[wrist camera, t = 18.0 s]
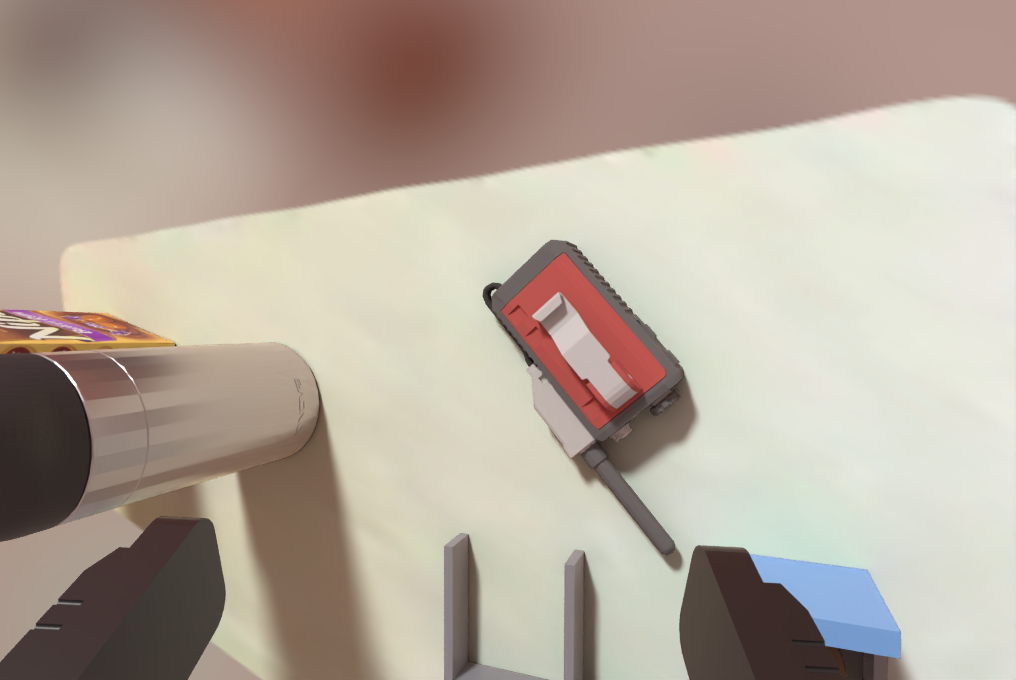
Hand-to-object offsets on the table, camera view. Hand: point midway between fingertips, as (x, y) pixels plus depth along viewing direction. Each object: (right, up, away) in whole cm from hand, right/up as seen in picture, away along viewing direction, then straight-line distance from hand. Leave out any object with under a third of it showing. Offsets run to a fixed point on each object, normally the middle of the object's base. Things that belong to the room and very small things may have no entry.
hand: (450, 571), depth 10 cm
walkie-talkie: (+8, +1, +28) cm, 29 cm away
